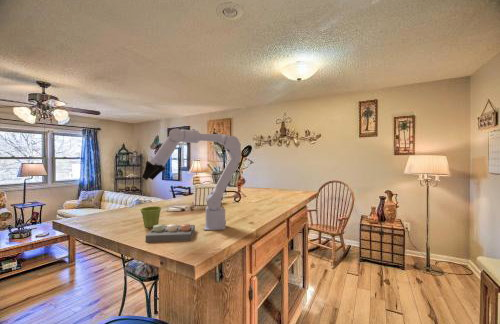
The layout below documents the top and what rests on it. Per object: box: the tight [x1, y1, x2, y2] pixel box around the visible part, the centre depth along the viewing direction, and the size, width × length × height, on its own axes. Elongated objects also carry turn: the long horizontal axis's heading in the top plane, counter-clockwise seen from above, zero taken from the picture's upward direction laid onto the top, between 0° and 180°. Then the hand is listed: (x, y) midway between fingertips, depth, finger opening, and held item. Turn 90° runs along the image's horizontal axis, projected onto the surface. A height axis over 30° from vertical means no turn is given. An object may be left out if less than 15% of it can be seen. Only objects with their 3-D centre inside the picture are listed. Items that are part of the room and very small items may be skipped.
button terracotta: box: [179, 223, 191, 232], centre depth 95 cm, size 4×4×3 cm
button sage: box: [152, 223, 165, 232], centre depth 94 cm, size 4×4×3 cm
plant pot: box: [139, 205, 162, 229], centre depth 108 cm, size 9×9×9 cm
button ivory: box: [166, 223, 178, 232], centre depth 95 cm, size 4×4×3 cm
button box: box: [145, 224, 196, 243], centre depth 95 cm, size 17×12×3 cm
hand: (147, 178), depth 99 cm, fingers open, 7 cm apart
